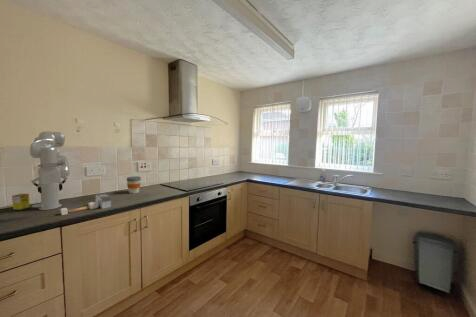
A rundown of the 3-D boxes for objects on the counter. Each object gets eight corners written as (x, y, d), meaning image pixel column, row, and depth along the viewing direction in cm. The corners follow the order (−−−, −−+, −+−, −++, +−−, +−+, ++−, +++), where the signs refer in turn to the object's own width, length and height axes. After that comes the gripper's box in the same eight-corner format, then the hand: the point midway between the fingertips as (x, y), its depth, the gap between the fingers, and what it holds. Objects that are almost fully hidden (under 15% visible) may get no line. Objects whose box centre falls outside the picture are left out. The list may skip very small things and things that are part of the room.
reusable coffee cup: (136, 190, 207) (136, 176, 205) (143, 191, 200) (143, 177, 199) (124, 192, 196) (123, 177, 195) (131, 194, 189) (131, 179, 188)
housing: (102, 208, 148) (101, 198, 147) (95, 204, 156) (95, 194, 156) (111, 206, 153) (110, 196, 152) (104, 203, 161) (104, 193, 161)
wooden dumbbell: (62, 215, 133) (61, 209, 133) (60, 213, 136) (60, 208, 136) (99, 207, 151) (99, 202, 150) (97, 206, 154) (97, 201, 153)
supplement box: (29, 207, 146) (29, 193, 145) (21, 210, 140) (20, 195, 139) (21, 207, 146) (20, 193, 145) (12, 210, 140) (11, 195, 139)
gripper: (31, 167, 120) (32, 195, 121) (67, 165, 133) (69, 190, 134) (29, 166, 124) (30, 193, 125) (65, 164, 138) (66, 188, 139)
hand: (50, 191), depth 130 cm, fingers open, 9 cm apart
